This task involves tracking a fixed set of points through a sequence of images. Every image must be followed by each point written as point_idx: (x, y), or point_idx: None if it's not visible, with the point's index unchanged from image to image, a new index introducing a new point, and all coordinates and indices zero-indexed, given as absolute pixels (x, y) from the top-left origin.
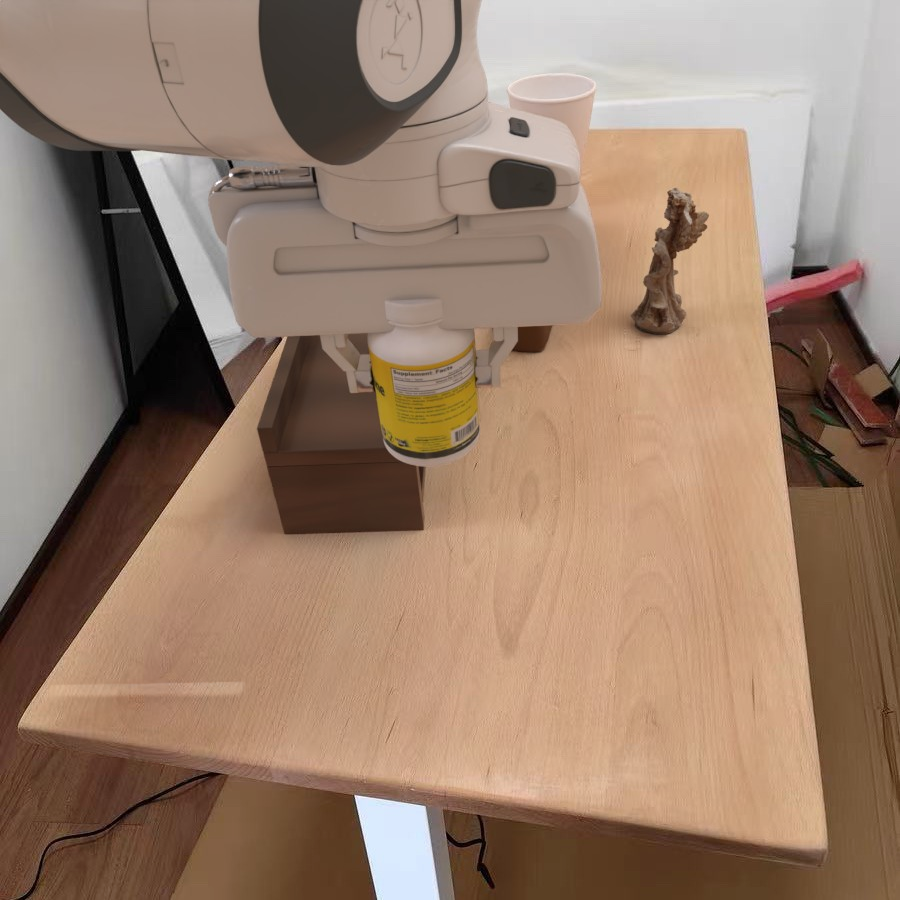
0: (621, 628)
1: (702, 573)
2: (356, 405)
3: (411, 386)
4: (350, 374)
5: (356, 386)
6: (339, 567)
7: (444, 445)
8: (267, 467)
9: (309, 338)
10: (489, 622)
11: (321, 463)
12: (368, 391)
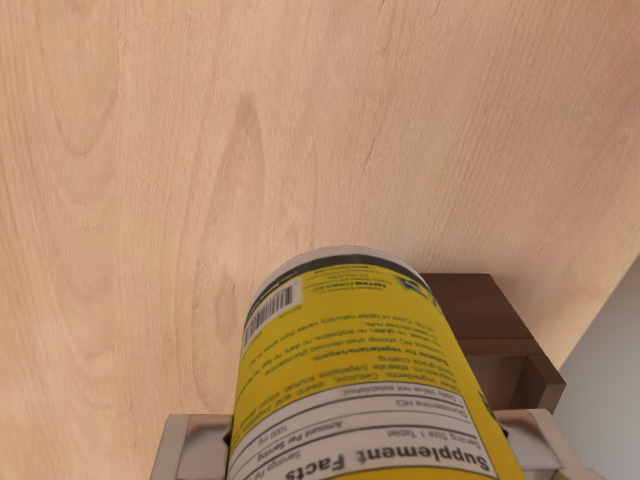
0: (114, 126)
1: (22, 200)
2: None
3: (420, 410)
4: (570, 458)
5: (538, 424)
6: (433, 228)
7: (317, 275)
8: (533, 337)
9: None
10: (269, 144)
11: (469, 340)
12: (502, 411)
